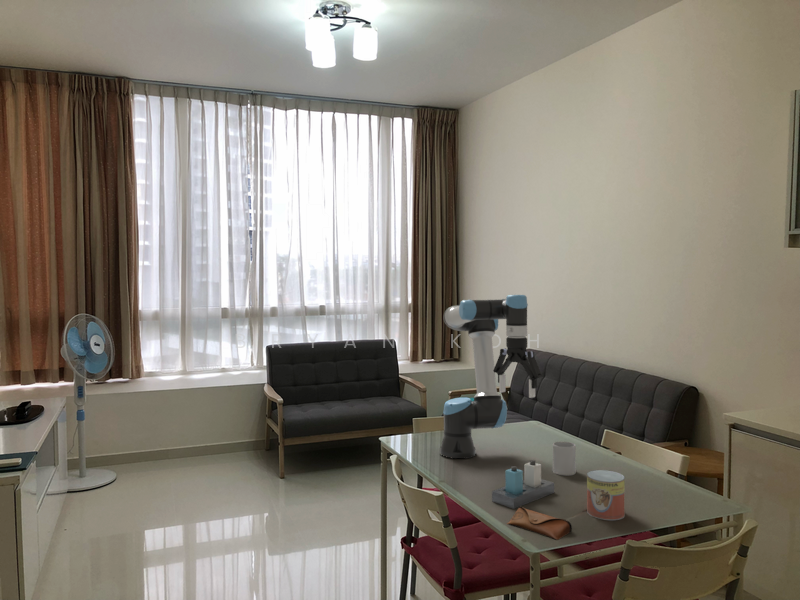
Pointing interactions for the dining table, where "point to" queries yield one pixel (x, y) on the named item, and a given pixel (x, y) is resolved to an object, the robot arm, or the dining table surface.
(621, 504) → the canned food
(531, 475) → the white knobbed block
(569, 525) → the sunglasses case
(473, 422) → the robot arm
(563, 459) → the mug
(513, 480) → the plug
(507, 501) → the strip
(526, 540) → the dining table surface
